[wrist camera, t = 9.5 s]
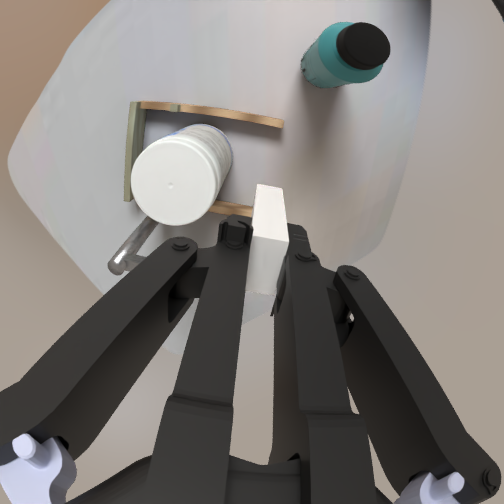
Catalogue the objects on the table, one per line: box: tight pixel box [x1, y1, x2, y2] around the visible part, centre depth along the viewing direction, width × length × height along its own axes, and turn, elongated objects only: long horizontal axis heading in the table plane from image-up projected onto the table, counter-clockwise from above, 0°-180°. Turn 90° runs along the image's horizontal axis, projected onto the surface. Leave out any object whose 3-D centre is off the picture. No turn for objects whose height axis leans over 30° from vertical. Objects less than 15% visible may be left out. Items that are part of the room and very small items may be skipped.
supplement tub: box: [131, 124, 233, 226], centre depth 33 cm, size 10×10×15 cm
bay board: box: [124, 101, 284, 217], centre depth 38 cm, size 21×15×4 cm
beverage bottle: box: [300, 22, 390, 88], centre depth 23 cm, size 6×7×20 cm
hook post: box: [108, 216, 159, 275], centre depth 36 cm, size 12×2×18 cm, turn 79°
